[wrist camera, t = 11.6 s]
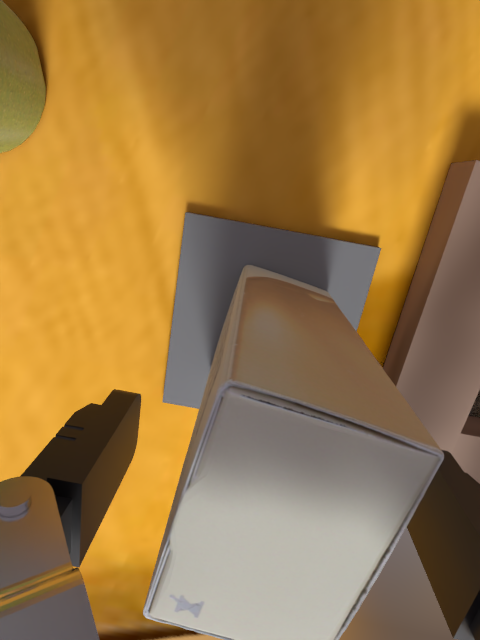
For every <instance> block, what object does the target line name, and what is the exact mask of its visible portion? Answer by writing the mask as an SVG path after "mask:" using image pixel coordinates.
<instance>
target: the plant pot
mask: <svg viewBox="0 0 480 640" xmlns="http://www.w3.org/2000/svg"><path fill="white" fill-rule="evenodd" d="M45 98H46V86H45V82H44V77H43V73H42V69H41V64H40V59H39V55H38V50H37V46H36V44H35V42H34V40H33V38H32V36H31V34H30V32H29V31H28V30H27V28H26V27H25V25H24V24H23V23H22V21H21V20H20V19H19V18H18V16H17V15H16V14H15V13H14V12H13V11H12V10H11V9H10V8H9V7H8V6H7V5H6V4H5V3H4V2H3V1H2V0H0V153H2V152H6V151H9V150H12V149H14V148H15V147H17V146H19V145H20V144H22V143H23V142H24V141H25V140H26V139H27V138H28V137H29V136H30V135H31V134H32V133H33V131H34V130H35V129H36V127H37V125H38V123H39V121H40V118H41V115H42V112H43V109H44V105H45Z"/></svg>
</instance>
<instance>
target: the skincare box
mask: <svg viewBox="0 0 480 640" xmlns="http://www.w3.org/2000/svg"><path fill="white" fill-rule="evenodd" d="M443 460H444V453H443V452H442V450H441V449H440V448H439V446H438V445H437V443H436V442H435V440H434V439H433V438H432V436H431V435H430V433H429V432H428V431H427V429H426V428H425V427H424V425H423V424H422V422H421V421H420V420H419V418H418V417H417V415H416V414H415V413H414V411H413V410H412V408H411V407H410V406H409V404H408V403H407V401H406V400H405V399H404V397H403V396H402V395H401V393H400V392H399V390H398V389H397V388H396V386H395V385H394V383H393V382H392V381H391V379H390V378H389V377H388V375H387V374H386V372H385V371H384V370H383V368H382V367H381V365H380V364H379V363H378V361H377V360H376V359H375V357H374V356H373V354H372V353H371V352H370V350H369V349H368V347H367V346H366V345H365V343H364V342H363V340H362V339H361V337H360V336H359V335H358V333H357V332H356V330H355V329H354V328H353V326H352V325H351V323H350V322H349V321H348V320H347V318H346V317H345V315H344V314H343V313H342V311H341V310H340V308H339V307H338V306H337V304H336V303H335V301H334V300H333V298H332V297H331V296H330V294H329V293H328V292H327V291H325V290H322V289H320V288H317V287H314V286H312V285H309V284H306V283H303V282H300V281H298V280H295V279H292V278H289V277H287V276H284V275H281V274H278V273H275V272H272V271H269V270H266V269H263V268H260V267H256V266H253V265H246V266H244V268H243V270H242V273H241V275H240V278H239V281H238V284H237V286H236V289H235V292H234V295H233V298H232V301H231V304H230V307H229V310H228V313H227V316H226V319H225V322H224V325H223V328H222V331H221V335H220V338H219V341H218V344H217V348H216V351H215V354H214V358H213V362H212V365H211V369H210V372H209V376H208V380H207V383H206V387H205V391H204V394H203V398H202V402H201V405H200V409H199V412H198V416H197V419H196V423H195V426H194V430H193V433H192V437H191V441H190V444H189V448H188V451H187V454H186V458H185V461H184V464H183V468H182V472H181V475H180V479H179V482H178V486H177V490H176V493H175V497H174V500H173V504H172V508H171V511H170V515H169V518H168V522H167V525H166V529H165V533H164V536H163V540H162V543H161V547H160V550H159V554H158V558H157V561H156V565H155V569H154V572H153V576H152V580H151V583H150V587H149V591H148V594H147V598H146V602H145V606H144V611H143V615H144V616H145V617H146V618H148V619H151V620H154V621H157V622H162V623H167V624H171V625H175V626H179V627H182V628H184V629H187V630H192V631H195V632H199V633H202V634H206V635H210V636H213V637H217V638H221V639H224V640H339V638H340V637H341V635H342V634H343V632H344V631H345V630H346V628H347V626H348V624H349V623H350V622H351V620H352V619H353V617H354V615H355V614H356V612H357V611H358V610H359V608H360V606H361V604H362V602H363V601H364V599H365V598H366V596H367V594H368V593H369V591H370V589H371V587H372V585H373V584H374V582H375V581H376V579H377V577H378V576H379V574H380V572H381V570H382V569H383V567H384V565H385V563H386V562H387V560H388V558H389V557H390V555H391V553H392V551H393V550H394V548H395V546H396V545H397V543H398V541H399V540H400V538H401V536H402V533H403V532H404V530H405V529H406V527H407V526H408V524H409V522H410V520H411V519H412V517H413V515H414V513H415V511H416V509H417V507H418V505H419V503H420V502H421V500H422V498H423V497H424V495H425V493H426V491H427V489H428V487H429V485H430V483H431V481H432V479H433V478H434V476H435V474H436V472H437V470H438V469H439V467H440V465H441V463H442V462H443Z"/></svg>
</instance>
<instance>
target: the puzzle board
mask: <svg viewBox="0 0 480 640" xmlns="http://www.w3.org/2000/svg"><path fill="white" fill-rule="evenodd" d="M383 370H384V371H385V372H386V374H387V375H388V377H389V378H390V379H391V381H392V382H393V383H394V385H395V386H396V388H397V389H398V390H399V392H400V393H401V395H402V396H403V397H404V399H405V400H406V401H407V403H408V404H409V406H410V407H411V408H412V410H413V411H414V413H415V414H416V415H417V417H418V418H419V420H420V421H421V422H422V424H423V425H424V427H425V428H426V429H427V431H428V432H429V433H430V435H431V436H432V438H433V439H434V440H435V442H436V443H437V445H438V446H439V448H440V449H441V450H445V451H449V452H450V453H451V454H452V456H453V457H454V458H455V460H456V461H457V463H458V464H459V466H460V467H461V469H462V470H463V471H464V472H465V473H468V474H469V475H470V476H471V477H472V478H473V479H475V480H476V481H477V482H478V483H479V484H480V417H474V416H469V413H470V411H471V408H472V406H473V404H474V402H475V399H476V397H477V395H478V392H479V390H480V161H479V160H473V161H465V162H457V163H451V166H450V169H449V172H448V175H447V178H446V181H445V184H444V187H443V190H442V193H441V196H440V199H439V202H438V205H437V208H436V211H435V214H434V217H433V220H432V223H431V226H430V229H429V232H428V235H427V238H426V241H425V244H424V247H423V250H422V253H421V256H420V259H419V262H418V265H417V268H416V271H415V274H414V277H413V280H412V283H411V286H410V289H409V292H408V295H407V298H406V301H405V304H404V307H403V310H402V313H401V316H400V319H399V322H398V325H397V327H396V330H395V333H394V336H393V339H392V342H391V345H390V348H389V351H388V354H387V357H386V360H385V363H384V366H383Z"/></svg>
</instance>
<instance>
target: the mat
mask: <svg viewBox="0 0 480 640" xmlns="http://www.w3.org/2000/svg"><path fill="white" fill-rule="evenodd" d="M380 250H381V248H379V247H375V246H370V245H364V244H359V243H353V242H348V241H342V240H337V239H332V238H326V237H321V236H315V235H310V234H304V233H299V232H293V231H288V230H282V229H277V228H272V227H266V226H261V225H255V224H250V223H244V222H239V221H233V220H228V219H223V218H217V217H212V216H206V215H201V214H195V213H190V212H186V213H185V222H184V230H183V238H182V246H181V255H180V263H179V271H178V279H177V288H176V296H175V304H174V312H173V321H172V329H171V337H170V345H169V354H168V362H167V370H166V379H165V387H164V395H163V402H164V403H170V404H176V405H181V406H187V407H192V408H198V409H200V405H201V402H202V398H203V394H204V391H205V387H206V383H207V380H208V376H209V372H210V369H211V365H212V362H213V358H214V354H215V351H216V348H217V344H218V341H219V338H220V335H221V331H222V328H223V325H224V322H225V319H226V316H227V313H228V310H229V307H230V304H231V301H232V298H233V295H234V292H235V289H236V286H237V284H238V281H239V278H240V275H241V273H242V270H243V268H244V266H246V265H253V266H256V267H260V268H263V269H266V270H269V271H272V272H275V273H278V274H281V275H284V276H287V277H289V278H292V279H295V280H298V281H300V282H303V283H306V284H309V285H312V286H314V287H317V288H320V289H322V290H325V291H327V292H328V293H329V294H330V296H331V297H332V298H333V300H334V301H335V303H336V304H337V306H338V307H339V308H340V310H341V311H342V313H343V314H344V315H345V317H346V318H347V320H348V321H349V322H350V323H351V325H352V326H353V328H354V329H355V330H356V331H357V328H358V324H359V321H360V318H361V314H362V311H363V308H364V304H365V301H366V298H367V294H368V291H369V287H370V284H371V281H372V277H373V274H374V271H375V267H376V264H377V261H378V257H379V254H380Z"/></svg>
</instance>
